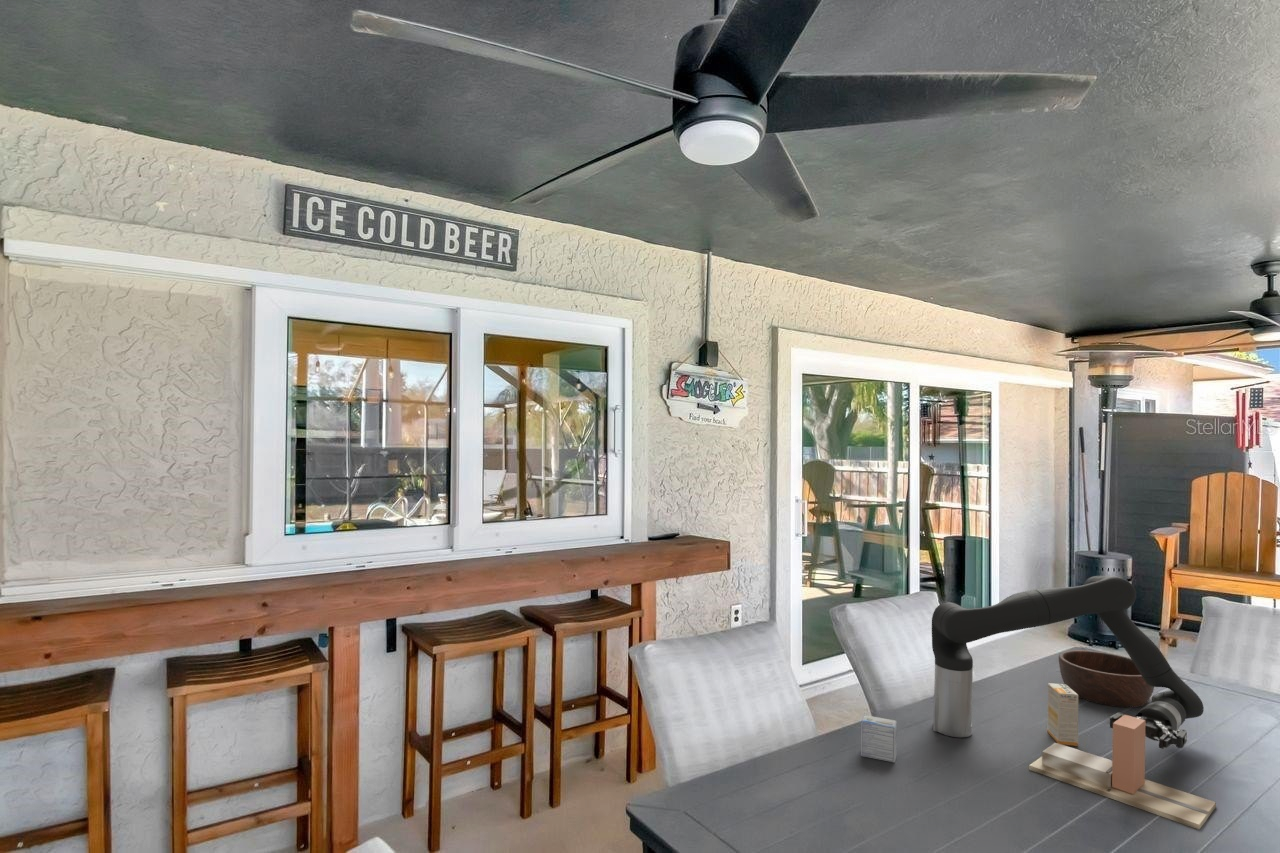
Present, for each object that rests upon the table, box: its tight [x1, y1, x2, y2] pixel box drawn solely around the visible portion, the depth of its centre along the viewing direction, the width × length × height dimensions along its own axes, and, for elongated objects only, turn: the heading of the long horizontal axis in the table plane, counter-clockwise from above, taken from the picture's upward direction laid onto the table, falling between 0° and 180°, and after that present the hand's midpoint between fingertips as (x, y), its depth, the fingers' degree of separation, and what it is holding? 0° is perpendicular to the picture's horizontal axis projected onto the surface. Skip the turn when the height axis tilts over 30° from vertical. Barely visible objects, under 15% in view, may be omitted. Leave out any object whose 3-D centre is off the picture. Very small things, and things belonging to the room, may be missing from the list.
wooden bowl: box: [1058, 649, 1155, 708], centre depth 216 cm, size 25×25×10 cm
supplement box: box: [1046, 682, 1079, 747], centre depth 184 cm, size 8×5×13 cm, turn 168°
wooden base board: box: [1028, 742, 1217, 830], centre depth 158 cm, size 32×14×4 cm, turn 40°
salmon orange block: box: [1111, 714, 1146, 794], centre depth 157 cm, size 4×8×14 cm, turn 130°
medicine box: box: [860, 715, 898, 763], centre depth 171 cm, size 8×4×9 cm, turn 65°
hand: (1138, 737), depth 161 cm, fingers open, 8 cm apart
